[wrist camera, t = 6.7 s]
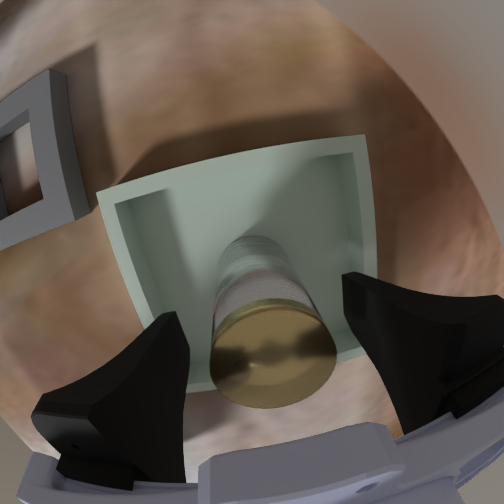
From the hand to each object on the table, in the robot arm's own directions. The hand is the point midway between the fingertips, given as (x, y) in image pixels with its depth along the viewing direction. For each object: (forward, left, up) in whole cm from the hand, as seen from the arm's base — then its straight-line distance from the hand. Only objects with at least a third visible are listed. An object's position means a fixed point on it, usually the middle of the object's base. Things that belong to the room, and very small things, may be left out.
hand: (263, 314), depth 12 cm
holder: (+10, +13, -5) cm, 17 cm away
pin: (0, 0, -4) cm, 4 cm away
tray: (0, 0, -5) cm, 5 cm away
